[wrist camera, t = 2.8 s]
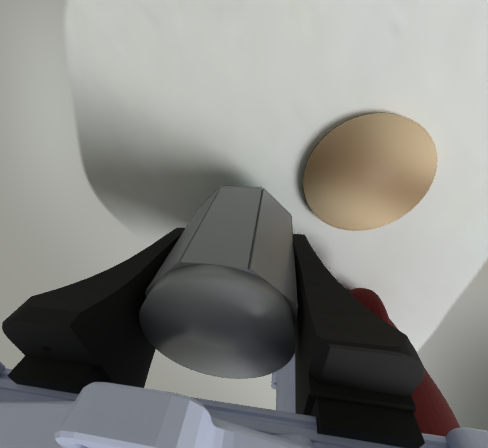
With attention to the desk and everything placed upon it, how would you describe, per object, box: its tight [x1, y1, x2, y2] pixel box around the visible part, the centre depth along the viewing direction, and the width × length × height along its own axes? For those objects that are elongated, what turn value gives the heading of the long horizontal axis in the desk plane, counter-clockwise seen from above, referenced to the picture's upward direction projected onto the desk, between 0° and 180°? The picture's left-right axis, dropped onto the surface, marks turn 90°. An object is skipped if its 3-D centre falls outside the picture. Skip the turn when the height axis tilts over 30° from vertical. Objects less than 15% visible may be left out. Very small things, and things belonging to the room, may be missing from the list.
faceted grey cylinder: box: [139, 186, 298, 379], centre depth 11 cm, size 6×6×7 cm
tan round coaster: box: [303, 113, 437, 231], centre depth 14 cm, size 7×7×1 cm
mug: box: [349, 288, 460, 437], centre depth 15 cm, size 11×8×10 cm
